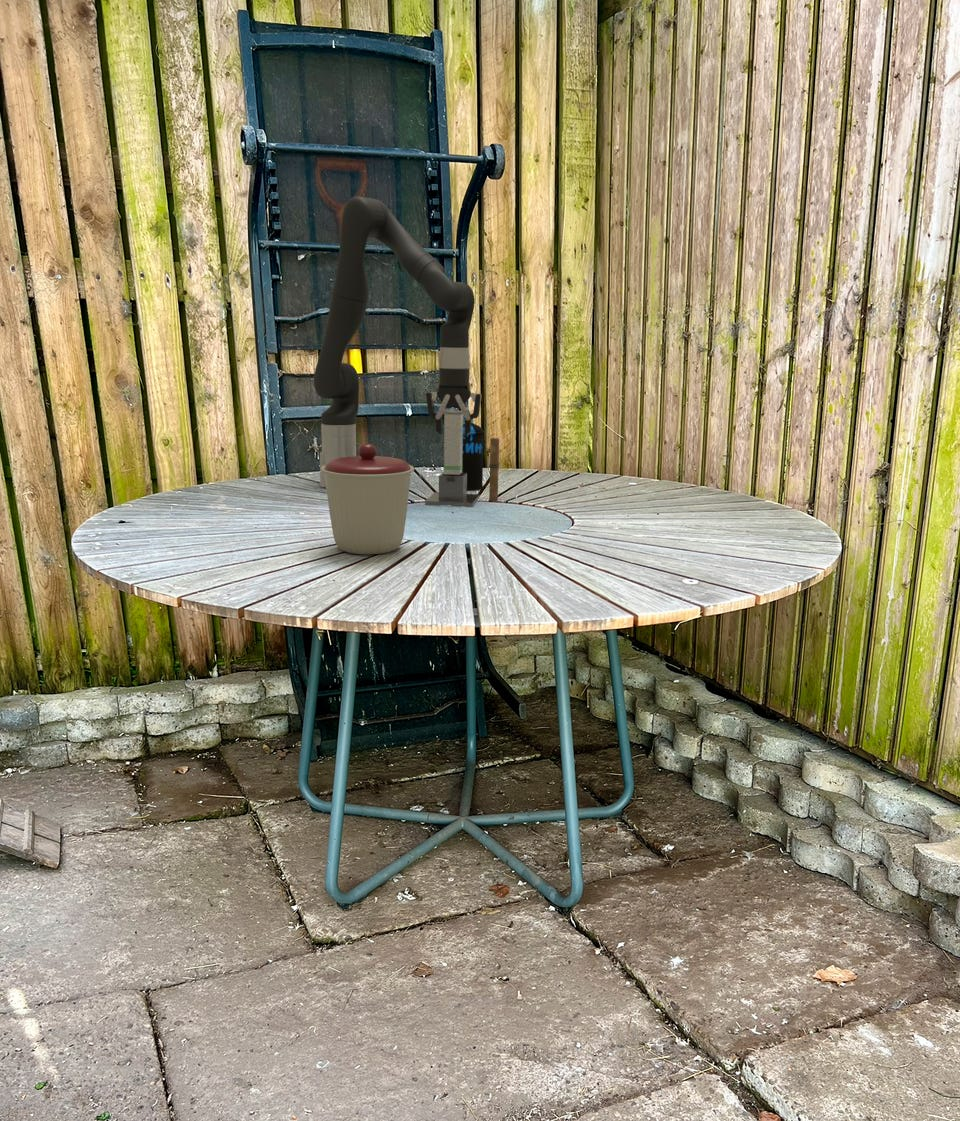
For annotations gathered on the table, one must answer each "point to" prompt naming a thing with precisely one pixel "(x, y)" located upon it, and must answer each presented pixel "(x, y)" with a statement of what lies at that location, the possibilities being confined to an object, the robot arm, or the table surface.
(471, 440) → the aerosol can
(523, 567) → the table surface
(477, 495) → the stand base
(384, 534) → the canister
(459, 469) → the grey-green long block
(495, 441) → the banded wooden rod
